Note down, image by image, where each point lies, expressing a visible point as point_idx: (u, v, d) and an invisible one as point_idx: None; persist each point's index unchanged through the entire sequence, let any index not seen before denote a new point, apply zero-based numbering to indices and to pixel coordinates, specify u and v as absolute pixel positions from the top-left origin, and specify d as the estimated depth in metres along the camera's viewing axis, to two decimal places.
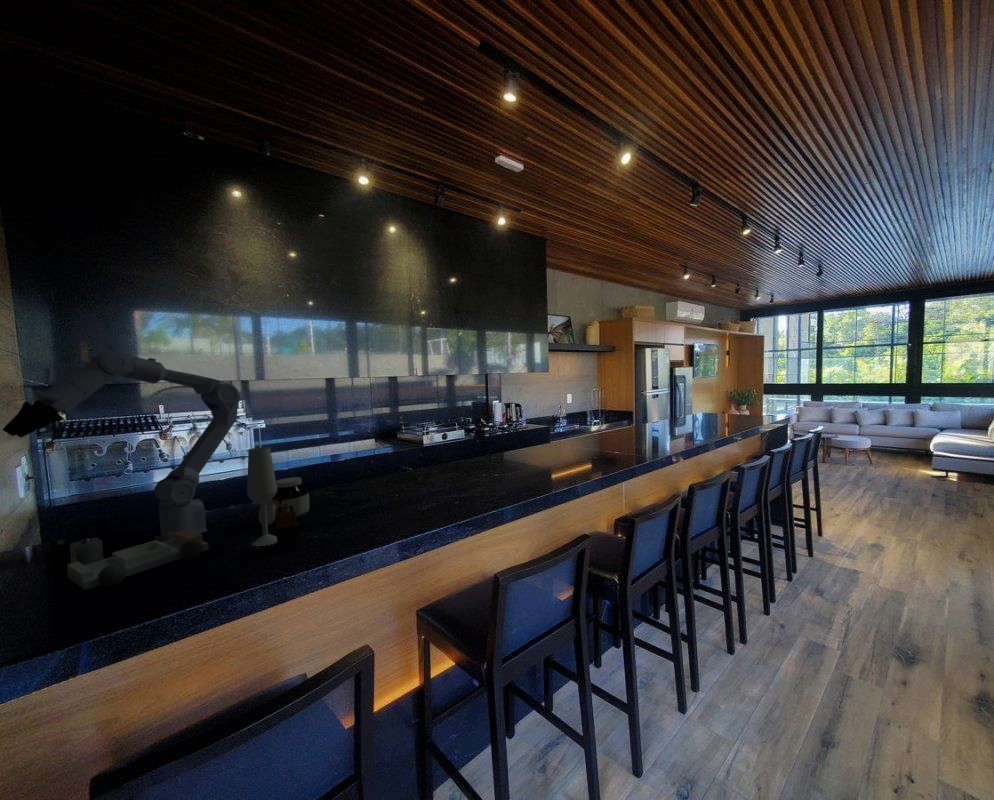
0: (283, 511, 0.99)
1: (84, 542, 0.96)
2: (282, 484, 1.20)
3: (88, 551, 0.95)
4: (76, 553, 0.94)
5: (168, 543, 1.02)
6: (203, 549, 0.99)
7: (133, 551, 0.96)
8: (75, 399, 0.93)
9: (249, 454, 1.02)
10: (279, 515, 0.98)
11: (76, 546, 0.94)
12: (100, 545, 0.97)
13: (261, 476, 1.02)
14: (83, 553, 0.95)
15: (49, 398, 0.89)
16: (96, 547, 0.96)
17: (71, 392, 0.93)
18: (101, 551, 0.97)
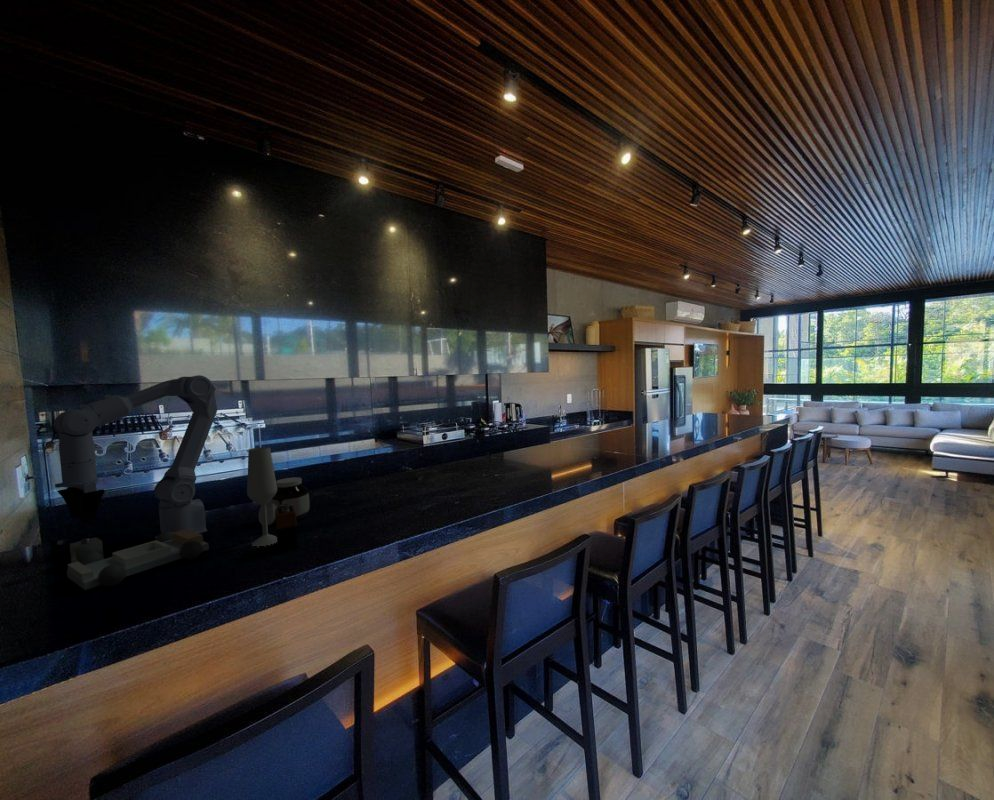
0: (283, 511, 0.99)
1: (84, 542, 0.96)
2: (282, 484, 1.20)
3: (88, 551, 0.95)
4: (76, 553, 0.94)
5: (168, 543, 1.02)
6: (203, 549, 0.99)
7: (133, 551, 0.96)
8: (90, 470, 0.96)
9: (249, 454, 1.02)
10: (279, 515, 0.98)
11: (76, 546, 0.94)
12: (100, 545, 0.97)
13: (261, 476, 1.02)
14: (83, 553, 0.95)
15: (74, 486, 0.92)
16: (96, 547, 0.96)
17: (81, 468, 0.94)
18: (101, 551, 0.97)
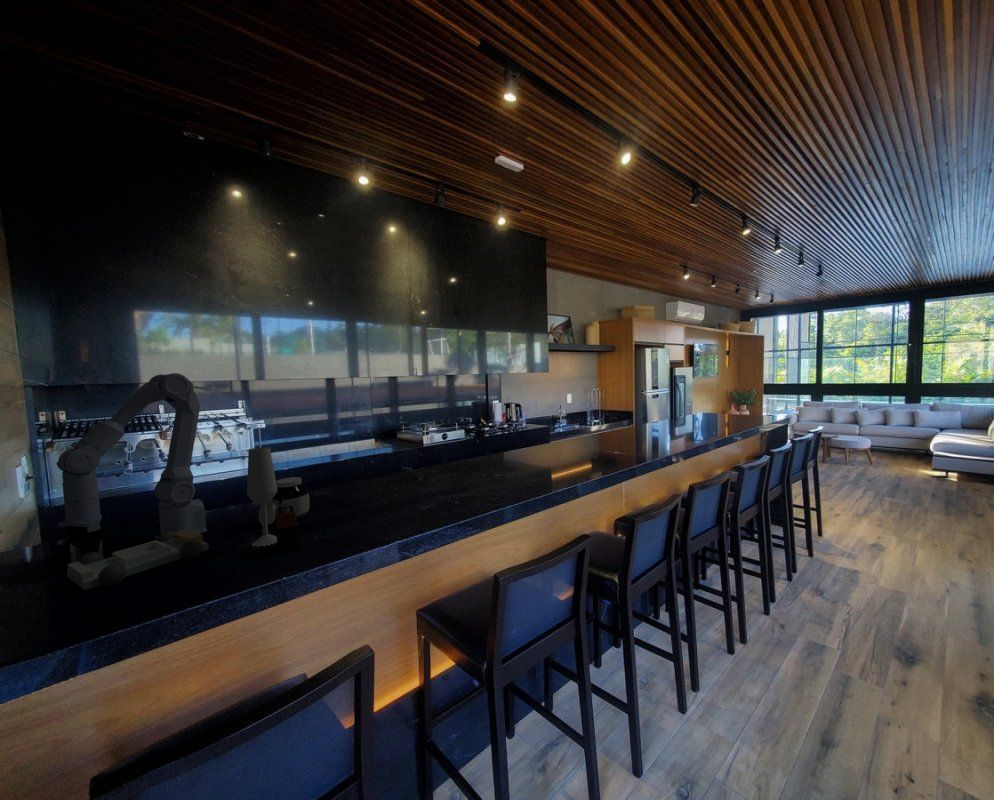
0: (283, 511, 0.99)
1: None
2: (282, 484, 1.20)
3: None
4: (76, 553, 0.94)
5: (168, 543, 1.02)
6: (203, 549, 0.99)
7: (133, 551, 0.96)
8: (94, 507, 0.96)
9: (249, 454, 1.02)
10: (279, 515, 0.98)
11: (76, 546, 0.94)
12: (100, 545, 0.97)
13: (260, 476, 1.02)
14: None
15: (78, 525, 0.93)
16: None
17: (85, 506, 0.94)
18: (101, 551, 0.97)
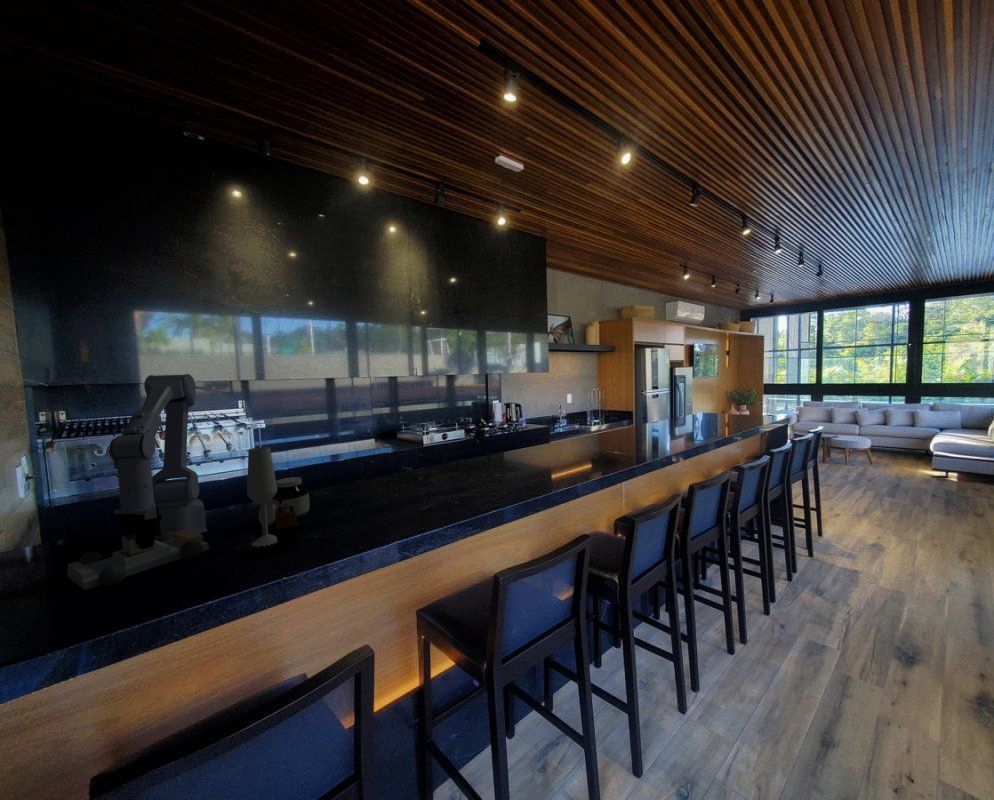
0: (283, 511, 0.99)
1: None
2: (282, 484, 1.20)
3: None
4: (129, 546, 0.91)
5: (168, 543, 1.02)
6: (203, 549, 0.99)
7: None
8: (148, 495, 0.93)
9: (249, 454, 1.02)
10: (279, 515, 0.98)
11: (129, 539, 0.91)
12: None
13: (261, 476, 1.02)
14: (137, 546, 0.92)
15: (134, 512, 0.90)
16: None
17: (140, 494, 0.92)
18: (153, 544, 0.94)
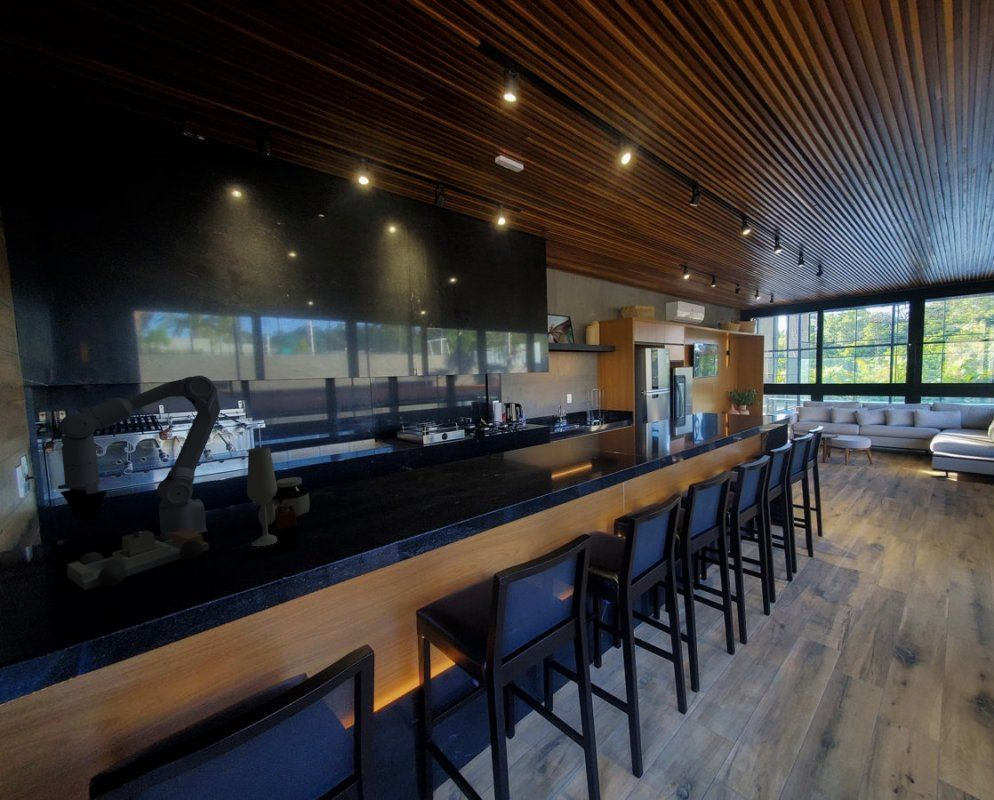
0: (283, 511, 0.99)
1: (136, 535, 0.93)
2: (282, 484, 1.20)
3: (141, 544, 0.92)
4: (129, 546, 0.91)
5: (168, 543, 1.02)
6: (203, 549, 0.99)
7: None
8: (92, 472, 0.98)
9: (249, 454, 1.02)
10: (279, 515, 0.98)
11: (129, 539, 0.91)
12: (152, 538, 0.94)
13: (261, 476, 1.02)
14: (137, 546, 0.92)
15: (77, 487, 0.95)
16: (148, 540, 0.94)
17: (84, 470, 0.97)
18: (153, 544, 0.94)
